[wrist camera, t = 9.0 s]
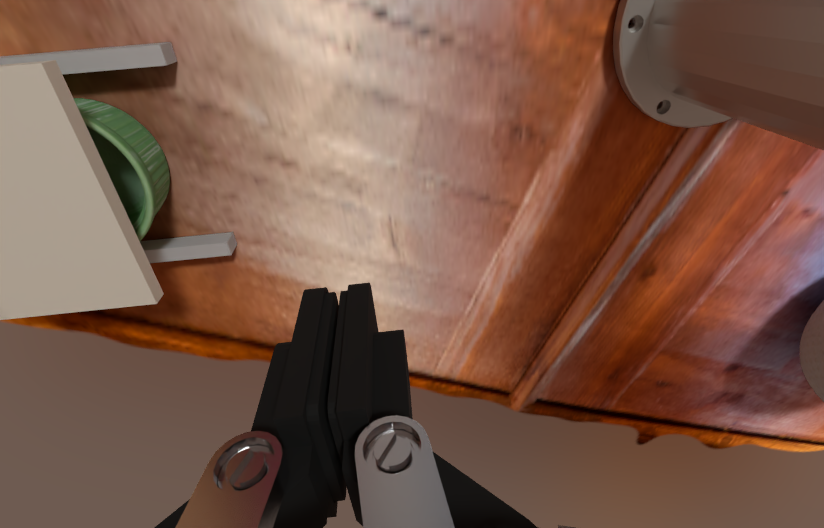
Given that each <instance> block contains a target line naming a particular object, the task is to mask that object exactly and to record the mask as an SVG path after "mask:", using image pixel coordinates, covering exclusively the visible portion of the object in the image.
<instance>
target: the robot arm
mask: <svg viewBox="0 0 824 528" xmlns="http://www.w3.org/2000/svg"><path fill="white" fill-rule="evenodd" d="M630 19H631V20H632V23H631V25H630V26H629V27H628V23H629V21H630ZM613 56H614V62H615V69H616V73H617V76H618V79H619V81H620V84H621V87H622V89H623V91H624V92H625V94H626V95H627V97H628V98H629V99H630V101H631V102H632V104H634V105H635V106H636V107H637V108H638V109H639V110H640V111H642V112H643V113H644V114H646V115H648V116H650V117H652V118H653V119H655V120H657V121H660V122H663V123H666V124H668V125H671V126H677V127H686V128H694V127H705V126H711V125H714V124H718V123H721V122H725V121H728V120H730V119H732V118H734V119H737V120H740V121H743V122H745V123H748V124H751V125H754V126H757V127H759V128H762V129H765V130H768V131H771V132H774V133H776V134H779V135H782V136H785V137H788V138H790V139H793V140H796V141H799V142H802V143H805V144H807V145H810V146H813V147H816V148H819V149H821V150H824V0H620V3H619V6H618V10H617V15H616V20H615V25H614V33H613ZM346 486H347V489H348V493H349V496H350V500H351V503H352V507H353V510H354V513H355V517H356V520H357V521H358V522H359V523H360V524H361V525H362V526H363V528H537V527H536V526H535V525H534V524H533V523H532V522H531V521H530V520H528V519H527V518H525V517H524V516H523V515H521V514H520V513H518V512H517V511H516V510H514V509H513V508H512V507H510V506H509V505H507V504H506V503H504V502H503V501H501V500H500V499H499V498H497V497H496V496H495V495H493V494H492V493H490V492H489V491H487V490H486V489H485V488H483V487H481V485H479V484H478V483H476V482H475V481H473V480H472V479H471V478H469V477H468V476H466V475H465V474H463V473H462V472H461V471H459V470H458V469H456V468H455V467H454V466H452V465H451V464H450V463H448V462H447V461H445V460H444V459H442V458H441V457H440V456H438V455H437V454H435V453H434V452H433V451H432V449H431V445H430V442H429V438H428V436H427V434H426V432H425V430H424V428H423V427H422V426H421V425H420V424H419V423H418V422H416V421H414V420H413V419H412V407H411V395H410V383H409V372H408V362H407V353H406V345H405V337H404V330H395V331H386V332H378V327H377V321H376V315H375V309H374V303H373V296H372V290H371V285H370V283H362V284H353V285H349V286H348V291H341V293H340V301H339V305H338V300H337V296H336V293H335V292H331V293H329V292H328V290H327V288H326V287H325V288H316V289H307V290H304V292H303V296H302V300H301V305H300V309H299V313H298V317H297V321H296V325H295V329H294V333H293V338H292V342H286V343H278V344H277V345H276V347H275V349H274V352H273V356H272V359H271V363H270V367H269V370H268V373H267V377H266V381H265V384H264V388H263V391H262V394H261V398H260V402H259V405H258V409H257V412H256V416H255V419H254V423H253V426H252V430H251V432H247V433H243V434H241V435H238V436H236V437H234V438H232V439H231V440H229V441H228V442H226V443H225V444H224V445H223V446H222V447H220V448H219V450H217V451H216V452H215V454H214V455H213V457H212V458H211V460H210V461H209V463H208V465H207V467H206V469H205V471H204V473H203V475H202V477H201V479H200V481H199V482H198V484H197V486H196V488H195V490H194V493H193V494H192V496H191V498H190V499H189V500H188V501H187V502H186V503H184V504H183V505H182V506H181V507H180V508H178V509H177V510H176V511H175V512H173V513H172V514H171V515H170V516H168V517H167V518H166V519H165V520H163V521H162V522H161V523H160V524H158V525H157V526H156V527H155V528H323V527H324V526H325V525H326V523H327V518H328V517H336V513H337V501H342V500H345V497H346ZM558 528H574V527H567V526H558Z"/></svg>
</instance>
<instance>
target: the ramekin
mask: <svg viewBox="0 0 824 528" xmlns="http://www.w3.org/2000/svg"><path fill="white" fill-rule="evenodd" d="M73 99H74V101H75V103H76V105H77V107H78V110H79V112H80V114H81V116H82V118H83V120H84V122H85V125H86V127H87V129H88V131H89V133H90V135H91V138H92V140H93V142H94V144H95V146H96V148H97V151H98V153H99V155H100V157H101V159H102V161H103V164H104V166H105V168H106V170H107V172H108V174H109V176H110V179H111V181H112V183H113V185H114V187H115V189H116V192H117V194H118V196H119V198H120V200H121V202H122V205H123V207H124V209H125V211H126V213H127V215H128V218H129V220H130V222H131V224H132V226H133V228H134V230H135V233H136V235H137V237H138V239H139V241H141V240H142V239H143V238H144V236H145V235H146V234H147V232H148V230H149V228H150V226H151V224H152V222H153V219H154V217H155V215H156V214H157V212H158V211H159V210H160V208H161V207H162V205H163V203H164V201H165V199H166V198H167V195H168V191H169V185H170V174H169V168H168V164H167V161H166V158H165V155H164V153H163V151H162V149H161V147H160V146H159V144H158V143H157V141H156V140H155V138H154V137H153V136H152V135H151V134H150V132H149V131H148V130H147V129H146V128H145V127H144V126H143V125H141V124H140V123H139V122H138V121H137V120H135V119H134V118H133V117H131V116H130V115H128V114H127V113H125V112H123V111H122V110H120V109H118V108H116V107H113V106H111V105H108V104H105V103H103V102H99V101H95V100H90V99H83V98H73Z"/></svg>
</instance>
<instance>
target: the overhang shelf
mask: <svg viewBox="0 0 824 528" xmlns="http://www.w3.org/2000/svg"><path fill="white" fill-rule="evenodd" d="M175 62H177V59H176V56H175V53H174V50H173V47H172V44H171V42H165V43H154V44H142V45H130V46H119V47H107V48H95V49H83V50H72V51H60V52H48V53H37V54H25V55H13V56H2V57H0V320H5V319H14V318H24V317H34V316H44V315H53V314H63V313H73V312H83V311H92V310H102V309H112V308H122V307H131V306H141V305H151V304H157V303H158V302H159V300H160V299H161V297H162V296H163V294H164V293H163V291H162V289H161V287H160V285H159V282H158V280H157V278H156V276H155V274H154V272H153V269H152V267H151V265H150V263H158V262H168V261H178V260H188V259H198V258H208V257H218V256H228V255H232V253H233V251H234V249H235V247H236V246H237V243H236V240H235V237H234V233H233V232H229V233H219V234H209V235H199V236H189V237H178V238H168V239H158V240H148V241H139V239H138V237H137V235H136V233H135V230H134V228H133V226H132V224H131V222H130V220H129V218H128V215H127V213H126V211H125V209H124V207H123V205H122V202H121V200H120V198H119V196H118V194H117V192H116V189H115V187H114V185H113V183H112V181H111V179H110V176H109V174H108V172H107V170H106V168H105V166H104V164H103V161H102V159H101V157H100V155H99V153H98V151H97V148H96V146H95V144H94V142H93V140H92V138H91V135H90V133H89V131H88V129H87V127H86V125H85V122H84V120H83V118H82V116H81V114H80V112H79V110H78V107H77V105H76V103H75V101H74V99H73V97H72V94H71V92H70V90H69V88H68V86H67V84H66V81H65V79H64V77H63V74H74V73H86V72H97V71H109V70H120V69H132V68H143V67H155V66H166V65H169V64H172V63H175Z"/></svg>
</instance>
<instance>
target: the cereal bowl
mask: <svg viewBox="0 0 824 528" xmlns="http://www.w3.org/2000/svg"><path fill="white" fill-rule="evenodd" d="M799 352H800V355H799V358H800V364H801V367H802V371H803V373H804V376H805V378H806V379H807V381H808V383H809V385H810V386H811V387H812V388H813V390H814V392H815V393H816V394H817V395H818V396H819V397H820V399H821V400H822V401H823V402H824V300H823V302H822V303H821V304H820V305H819V307H818V308H817V309H816V310H815V312H814V313H813V314H812V315H811V318H810V319H809V320H808V322H807V325H806V326H805V328H804V331H803V334H802V337H801V341H800V348H799Z"/></svg>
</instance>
